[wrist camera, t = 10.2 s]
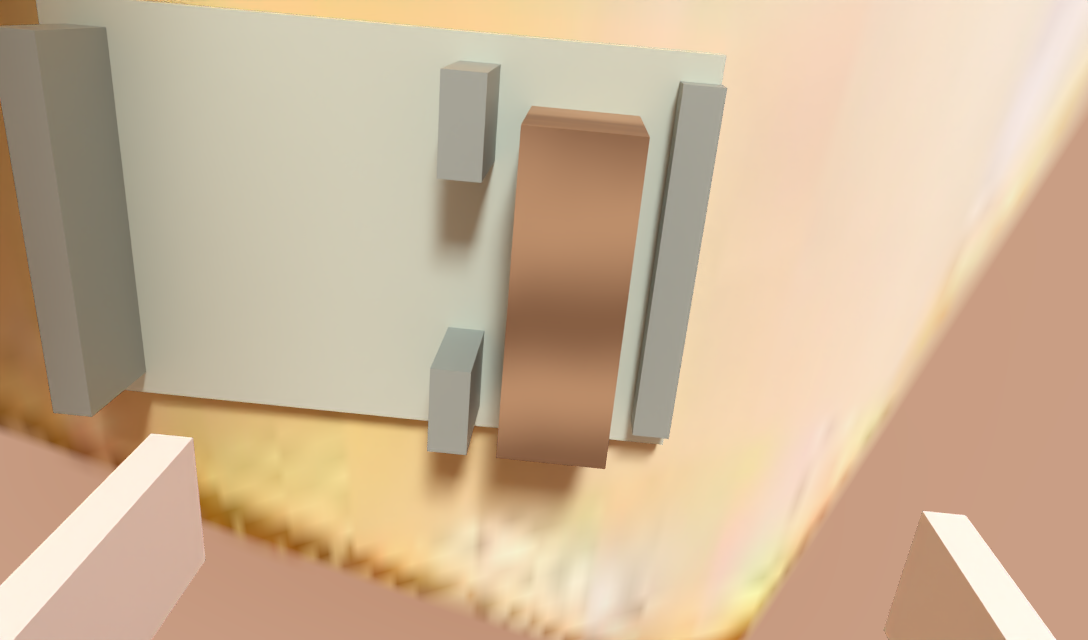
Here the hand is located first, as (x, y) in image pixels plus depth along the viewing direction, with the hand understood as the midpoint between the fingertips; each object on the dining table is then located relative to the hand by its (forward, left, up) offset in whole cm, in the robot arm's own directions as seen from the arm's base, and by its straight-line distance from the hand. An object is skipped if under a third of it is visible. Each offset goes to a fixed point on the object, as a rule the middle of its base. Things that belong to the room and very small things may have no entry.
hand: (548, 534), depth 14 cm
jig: (0, -8, -19) cm, 20 cm away
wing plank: (+1, 0, -18) cm, 18 cm away
